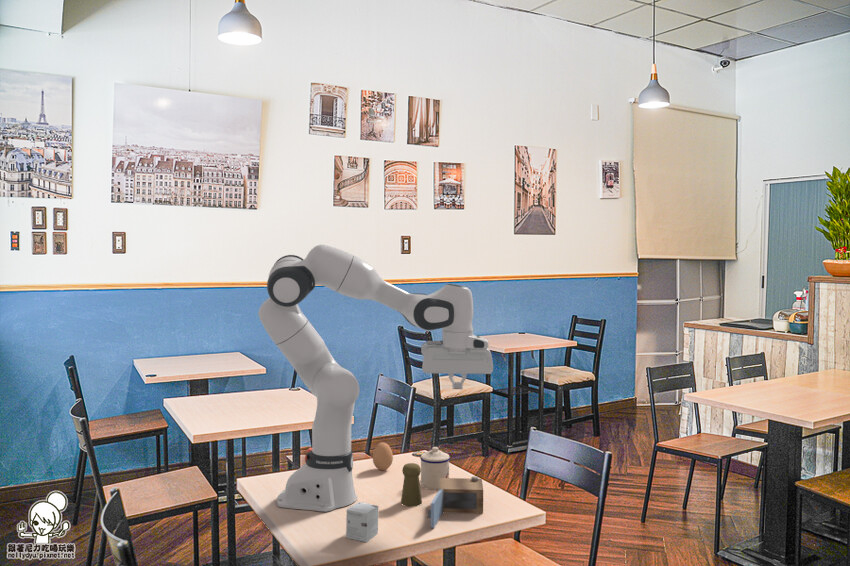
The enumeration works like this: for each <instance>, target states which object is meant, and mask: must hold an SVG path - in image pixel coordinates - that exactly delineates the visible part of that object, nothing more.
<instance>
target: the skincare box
mask: <svg viewBox="0 0 850 566" xmlns="http://www.w3.org/2000/svg"><path fill="white" fill-rule="evenodd" d="M345 530H346V531H345V534H346V536H345V538H346V539H350V540H355V541H359V542H364V543H368V542H369V541H370V540H371V539H373V538H374V537H375V536H377V535H378V534H379V505H377V504H372V503H367V502H361V501H357V502H356V503H354V504H353V505H351V506H350V507H348V508H347V509H346V527H345Z"/></svg>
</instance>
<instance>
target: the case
mask: <svg viewBox="0 0 850 566" xmlns="http://www.w3.org/2000/svg"><path fill="white" fill-rule="evenodd" d="M439 489H443V512H444V513H446V514H447V513H454V514H455V513H456V514H484V485H483V480H482V478H479V477H478V476H471V477H470V478H466V477H465V478H460V477H459V478H458V477H457V478H455V477H454V478H453V477H452V478H451V477H449V478H440V485H439ZM444 513H443V514H444Z"/></svg>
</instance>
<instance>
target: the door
mask: <svg viewBox="0 0 850 566" xmlns="http://www.w3.org/2000/svg"><path fill="white" fill-rule="evenodd" d="M426 511H427V519H430V528H431V529H434V528H435V527H436V525H437V523H438V522H439V520H440V518H441V517H442V515H443V514H444V513H443V489H439V490H438V491H437V494H436V495H435V496H434V498H433V499H432V500H431V503H430V508H428V509H427V510H426Z"/></svg>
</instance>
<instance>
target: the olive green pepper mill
mask: <svg viewBox="0 0 850 566" xmlns="http://www.w3.org/2000/svg"><path fill="white" fill-rule="evenodd" d="M401 471H402V475H403V477H404V478H403V485H402V491H401V492H402V493H401V499H400V503H401V505H402V504H403V506H404V505H405V507H418V505H419V506H420V504H421V505H422V503H423V500H422V492H421V491H422V490H421V481H420V476H421V465H419V464H418V463H414V462H409V463H406V464H404V465H403V467H402V470H401Z"/></svg>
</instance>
